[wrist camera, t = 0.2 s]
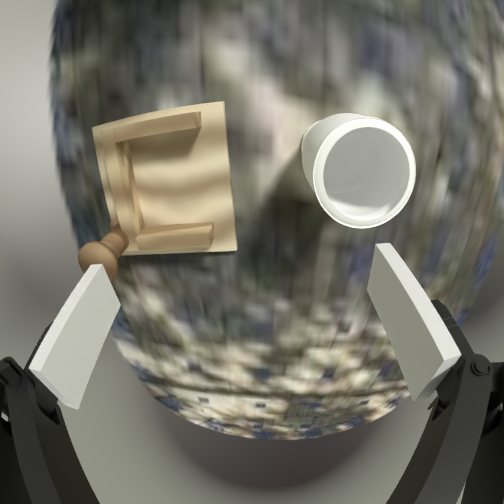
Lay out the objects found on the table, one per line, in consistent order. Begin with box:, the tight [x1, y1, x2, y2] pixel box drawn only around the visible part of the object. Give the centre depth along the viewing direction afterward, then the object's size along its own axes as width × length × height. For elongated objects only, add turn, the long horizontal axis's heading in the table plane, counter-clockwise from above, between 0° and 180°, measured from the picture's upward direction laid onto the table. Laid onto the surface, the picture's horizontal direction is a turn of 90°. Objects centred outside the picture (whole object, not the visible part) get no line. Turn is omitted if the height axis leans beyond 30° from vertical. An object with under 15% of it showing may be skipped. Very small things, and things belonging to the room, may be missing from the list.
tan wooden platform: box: [78, 101, 237, 283], centre depth 33 cm, size 22×20×12 cm
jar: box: [301, 113, 416, 228], centre depth 29 cm, size 11×10×15 cm
